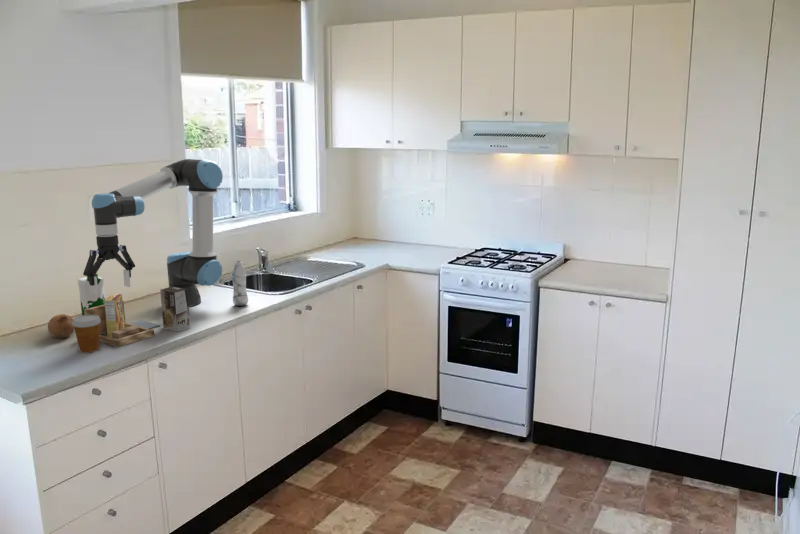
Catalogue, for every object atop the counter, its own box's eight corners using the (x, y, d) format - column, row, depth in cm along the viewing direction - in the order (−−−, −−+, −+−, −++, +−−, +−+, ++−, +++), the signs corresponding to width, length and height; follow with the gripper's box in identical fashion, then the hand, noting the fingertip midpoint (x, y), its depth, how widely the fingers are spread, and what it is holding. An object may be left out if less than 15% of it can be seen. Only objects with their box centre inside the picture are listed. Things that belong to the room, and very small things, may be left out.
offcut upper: (133, 331, 263) (132, 325, 263) (139, 333, 261) (139, 327, 260) (112, 337, 256) (111, 332, 255) (119, 339, 254) (118, 333, 253)
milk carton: (88, 325, 276) (83, 277, 271) (79, 320, 282) (74, 273, 278) (109, 320, 282) (105, 273, 278) (100, 316, 288) (95, 270, 284)
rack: (124, 326, 274) (121, 300, 272) (154, 335, 264) (152, 308, 261) (87, 337, 261) (84, 309, 259) (117, 346, 251) (114, 318, 248)
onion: (69, 345, 261) (71, 326, 256) (43, 341, 258) (44, 321, 253) (77, 330, 268) (79, 310, 263) (51, 325, 266) (53, 305, 261)
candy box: (114, 331, 268) (110, 294, 265) (125, 331, 269) (122, 293, 265) (107, 338, 260) (103, 300, 256) (118, 338, 260) (115, 299, 257)
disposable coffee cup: (71, 349, 248) (67, 318, 245) (97, 343, 254) (94, 312, 252) (80, 356, 241) (77, 323, 239) (107, 349, 248) (104, 318, 245)
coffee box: (190, 327, 273) (187, 289, 269) (177, 332, 268) (174, 292, 264) (176, 323, 278) (173, 285, 274) (162, 327, 273) (159, 289, 269)
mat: (142, 321, 281) (141, 319, 281) (160, 326, 275) (160, 324, 275) (124, 326, 275) (124, 324, 275) (143, 331, 268) (143, 330, 268)
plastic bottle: (249, 306, 303) (247, 262, 298) (234, 308, 300) (231, 264, 296) (247, 302, 308) (245, 259, 304) (231, 304, 306) (229, 261, 302)
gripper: (130, 229, 267) (134, 282, 272) (69, 238, 247) (75, 295, 252) (142, 231, 263) (145, 284, 268) (81, 240, 243) (86, 298, 248)
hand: (111, 289), depth 260 cm, fingers open, 13 cm apart
